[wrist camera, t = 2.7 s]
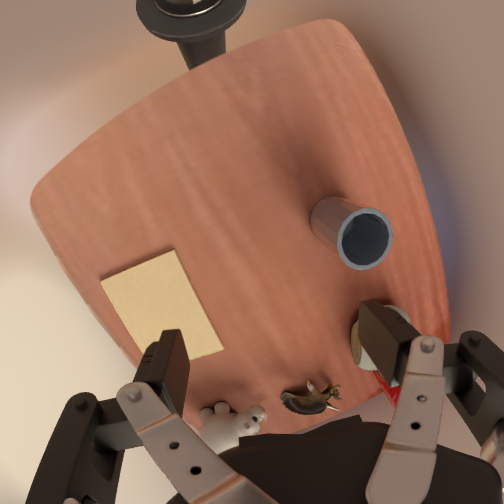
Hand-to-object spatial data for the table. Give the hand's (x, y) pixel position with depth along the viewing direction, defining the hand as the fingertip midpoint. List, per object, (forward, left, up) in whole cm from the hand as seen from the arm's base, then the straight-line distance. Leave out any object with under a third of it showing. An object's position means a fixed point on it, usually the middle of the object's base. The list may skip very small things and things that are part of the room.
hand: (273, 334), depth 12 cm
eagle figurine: (+30, 0, -25) cm, 39 cm away
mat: (+8, -15, -24) cm, 30 cm away
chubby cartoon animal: (+29, -13, -25) cm, 40 cm away
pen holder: (+4, +11, -24) cm, 27 cm away
